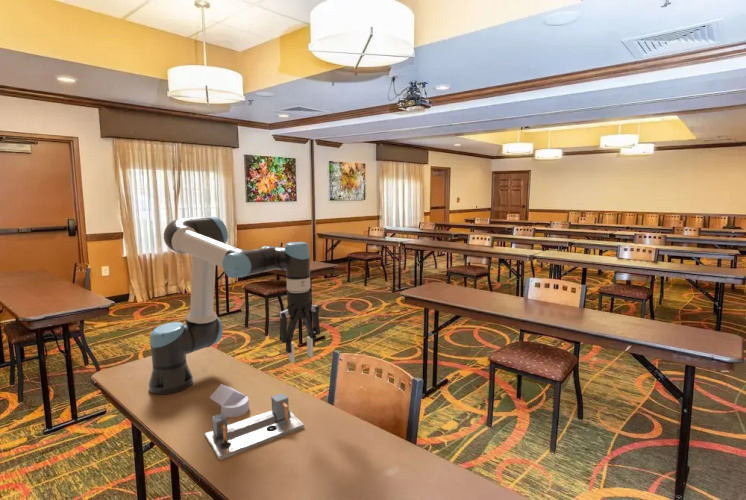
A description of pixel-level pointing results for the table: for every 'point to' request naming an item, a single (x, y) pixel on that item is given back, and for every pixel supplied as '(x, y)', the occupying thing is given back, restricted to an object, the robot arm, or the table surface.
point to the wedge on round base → (230, 401)
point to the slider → (280, 406)
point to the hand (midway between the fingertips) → (301, 358)
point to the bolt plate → (248, 432)
